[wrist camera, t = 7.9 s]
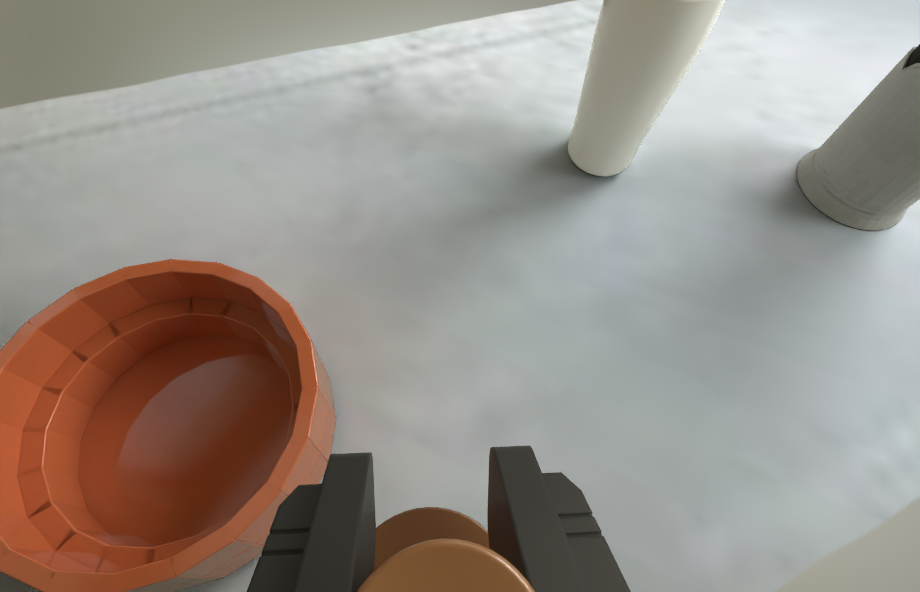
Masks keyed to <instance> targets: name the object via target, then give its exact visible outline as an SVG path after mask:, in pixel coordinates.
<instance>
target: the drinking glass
mask: <svg viewBox="0 0 920 592" xmlns="http://www.w3.org/2000/svg"><path fill="white" fill-rule="evenodd" d="M725 2H726V0H604V1H603V5H602V8H601V11H600V15H599V18H598V22H597V26H596V30H595V34H594V38H593V43H592V47H591V52H590V56H589V61H588V65H587V70H586V74H585V79H584V83H583V87H582V92H581V96H580V101H579V105H578V109H577V113H576V118H575V122H574V126H573V129H572V132H571V135H570V138H569V141H568V152H569V155H570V157H571V159H572V161H573V162H574V163H575V164H576V165H577V166H578V167H579V168H580V169H582V170H583V171H585V172H587V173H589V174H592V175H596V176H612V175H616V174H618V173H621V172H622V171H624V170H625V169H626V168H627V167H628V166H629V165H630V163H631V161H632V159H633V158H634V156H635V154H636V152H637V150H638V148H639V146H640V145H641V143H642V141H643V140H644V138H645V137H646V135H647V134H648V132H649V130H650V129H651V127H652V126H653V124H654V122H655V121H656V119H657V118H658V116H659V115H660V113H661V112H662V110H663V108H664V107H665V105H666V104H667V102H668V101H669V99H670V98H671V96H672V94H673V93H674V91H675V90H676V88H677V87H678V85H679V84H680V82H681V81H682V79H683V77H684V76H685V74H686V73H687V71H688V70H689V68H690V66H691V65H692V63H693V62H694V60H695V58H696V57H697V55H698V53H699V52H700V50H701V48H702V47H703V45H704V43H705V41H706V39H707V38H708V36H709V34H710V32H711V30H712V28H713V26H714V24H715V22H716V20H717V18H718V16H719V14H720V12H721V10H722V8H723V6H724V4H725Z"/></svg>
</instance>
